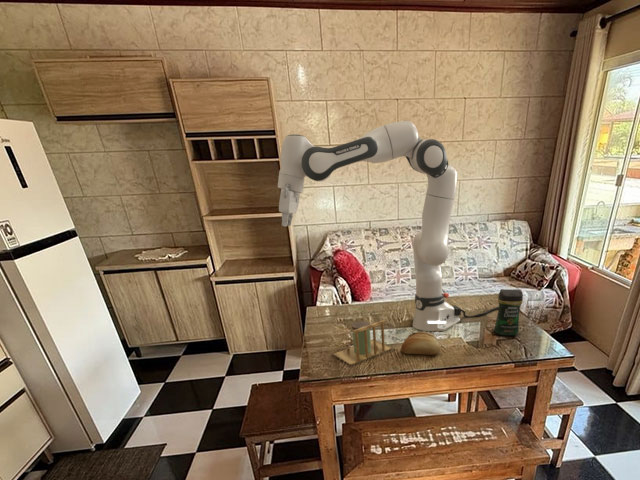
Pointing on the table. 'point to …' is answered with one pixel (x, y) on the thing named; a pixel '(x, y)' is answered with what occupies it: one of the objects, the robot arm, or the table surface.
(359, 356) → the dish rack
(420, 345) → the bread roll
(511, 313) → the coffee jar
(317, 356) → the table surface
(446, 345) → the table surface
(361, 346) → the tumbler
